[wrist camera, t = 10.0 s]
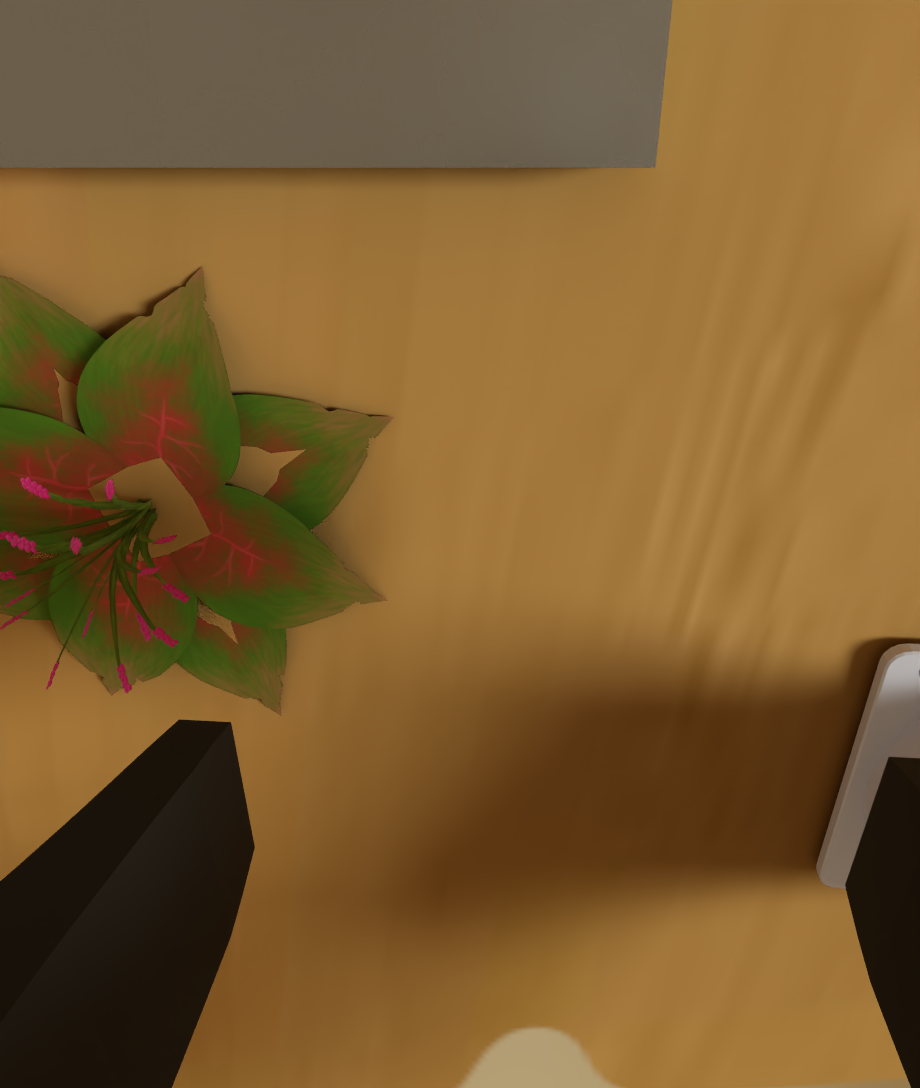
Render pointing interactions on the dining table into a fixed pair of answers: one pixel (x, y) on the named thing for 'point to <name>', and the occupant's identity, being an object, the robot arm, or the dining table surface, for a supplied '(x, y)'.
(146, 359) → the lily flower
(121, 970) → the robot arm
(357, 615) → the dining table surface
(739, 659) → the dining table surface
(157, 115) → the gray square-hole plate
